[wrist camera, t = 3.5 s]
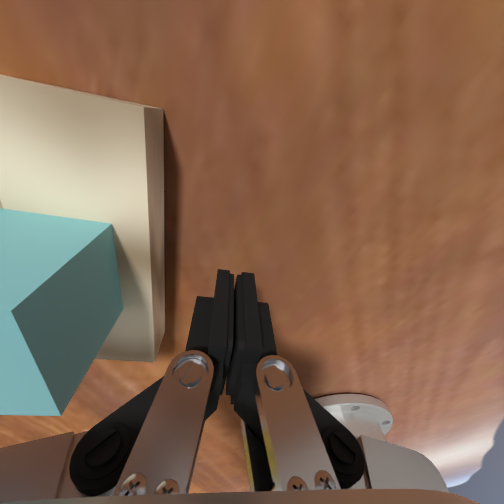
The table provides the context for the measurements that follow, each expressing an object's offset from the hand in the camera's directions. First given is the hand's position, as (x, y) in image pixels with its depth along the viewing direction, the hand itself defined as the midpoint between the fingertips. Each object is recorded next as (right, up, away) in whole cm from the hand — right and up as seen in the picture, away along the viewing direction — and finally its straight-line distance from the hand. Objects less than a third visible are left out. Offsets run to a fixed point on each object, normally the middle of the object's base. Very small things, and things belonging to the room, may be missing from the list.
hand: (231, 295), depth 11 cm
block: (-8, +2, 0) cm, 8 cm away
